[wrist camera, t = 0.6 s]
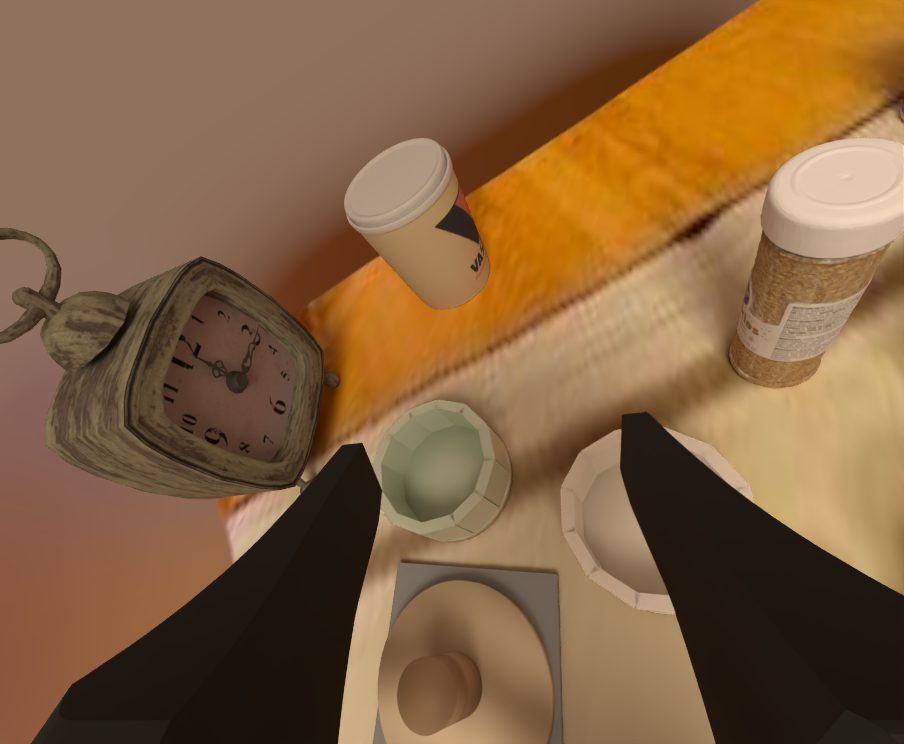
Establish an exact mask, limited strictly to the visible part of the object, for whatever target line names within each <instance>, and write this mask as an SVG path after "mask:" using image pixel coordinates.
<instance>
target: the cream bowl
mask: <svg viewBox="0 0 904 744" xmlns="http://www.w3.org/2000/svg"><path fill="white" fill-rule="evenodd" d="M664 428H665V429H666V430H667V431H668V432H669V433H670V434H671V435H672V436H673V437H674V438H676V439H677V440H678V441H679V442H680V443H681V444H682V445H683V446H684V447H685V448H687V449H688V450H689V451H690V452H691V453H692V454H693V455H694V456H696V457H697V458H698V459H699V460H700V461H702V462H703V463H704V464H705V465H706V466H707V467H709V468H710V469H711V470H712V471H713V472H715V473H716V474H717V475H718V476H719V477H721V478H722V479H723V480H724V481H726V482H727V483H728V484H729V485H731V486H732V487H733V488H735V489H736V490H737V491H738V492H740V493H741V494H742V495H744V496H745V497H746V498H748V499H749V500H750V501H752V502H753V503H754V500H753V496H752V492H751V488H750V487H748V486H749V484H748V483H747V482H746V481H745V480H744V479H743V478H742V477H741V476H740V475H739V474H738V473H737V472H736V471H735V469H734V468H733V467H732V466H731V465H730V464H729V463H728V462H727V461H726V460H725V459H724V458H723V457H722V456H721V455H720V454H719V453H718V452H717V450H716V449H715V448H714V447H713V446H712V447H710V446H711V445H709V444H707V443H704V442H702V441H699V440H697V439H694V438H691V437H689V436H686V435H684V434H681V433H679V432H676V431H674V430H671V429H668V428H666V427H664ZM581 452H582V453H581ZM581 452H579V454H578V456H577V458H576V460H575V462H574V463H573V465H572V467H571V469H570V471H569V473H568V474H567V476H566V478H565V480H564V482H563V484H562V485H561V488H560V493H561V523H562V532H563V533H562V534H563V536H564V537H565V539H566V541H567V542H568V544H569V546H570V548H571V549H572V551H573V553H574V555H575V556H576V558H577V560H578V562H579V563H580V565H581V567H582V569H583V570H584V572H585V574H586V576H587V577H588V578H589V579H591V580H592V581H594V582H595V583H597V584H598V585H600V586H601V587H603V588H604V589H606V590H607V591H609V592H610V593H612V594H613V595H615V596H616V597H618V598H619V599H621V600H622V601H624V602H625V603H627V604H628V605H630V606H631V607H633V608H634V609H637V610H641V611H650V612H655V613H661V614H674V615H676V614H675V611H674V608H673V605H672V602H671V600H670V597H669V594H668V592H667V589H666V587H665V584H664V582H663V580H662V577H661V575H660V573H659V571H658V568H657V566H656V564H655V561H654V559H653V557H652V554H651V552H650V550H649V547H648V545H647V543H646V541H645V538H644V536H643V534H642V531H641V529H640V527H639V524H638V522H637V520H636V517H635V515H634V512H633V510H632V508H631V505H630V502H629V499H628V496H627V492H626V489H625V486H624V482H623V479H622V475H621V472H620V452H621V429H617V431H616V430H614V431H613V432H611V433H610V434H608V435H606V436H605V437H603V438H601V439H600V440H598V441H596V442H595V443H593V444H591V445H590V446H588V447H586V448H585V449H583V450H581Z"/></svg>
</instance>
